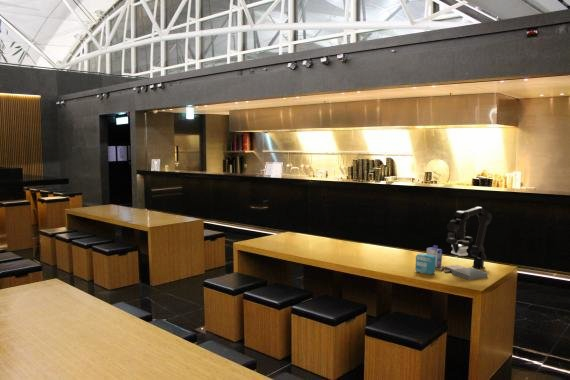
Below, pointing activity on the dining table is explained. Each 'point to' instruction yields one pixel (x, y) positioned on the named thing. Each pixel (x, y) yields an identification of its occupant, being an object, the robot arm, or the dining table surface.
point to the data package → (425, 263)
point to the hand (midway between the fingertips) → (459, 252)
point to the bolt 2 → (448, 271)
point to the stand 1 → (453, 267)
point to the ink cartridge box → (436, 253)
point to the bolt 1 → (442, 268)
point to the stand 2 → (469, 273)
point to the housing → (460, 250)
